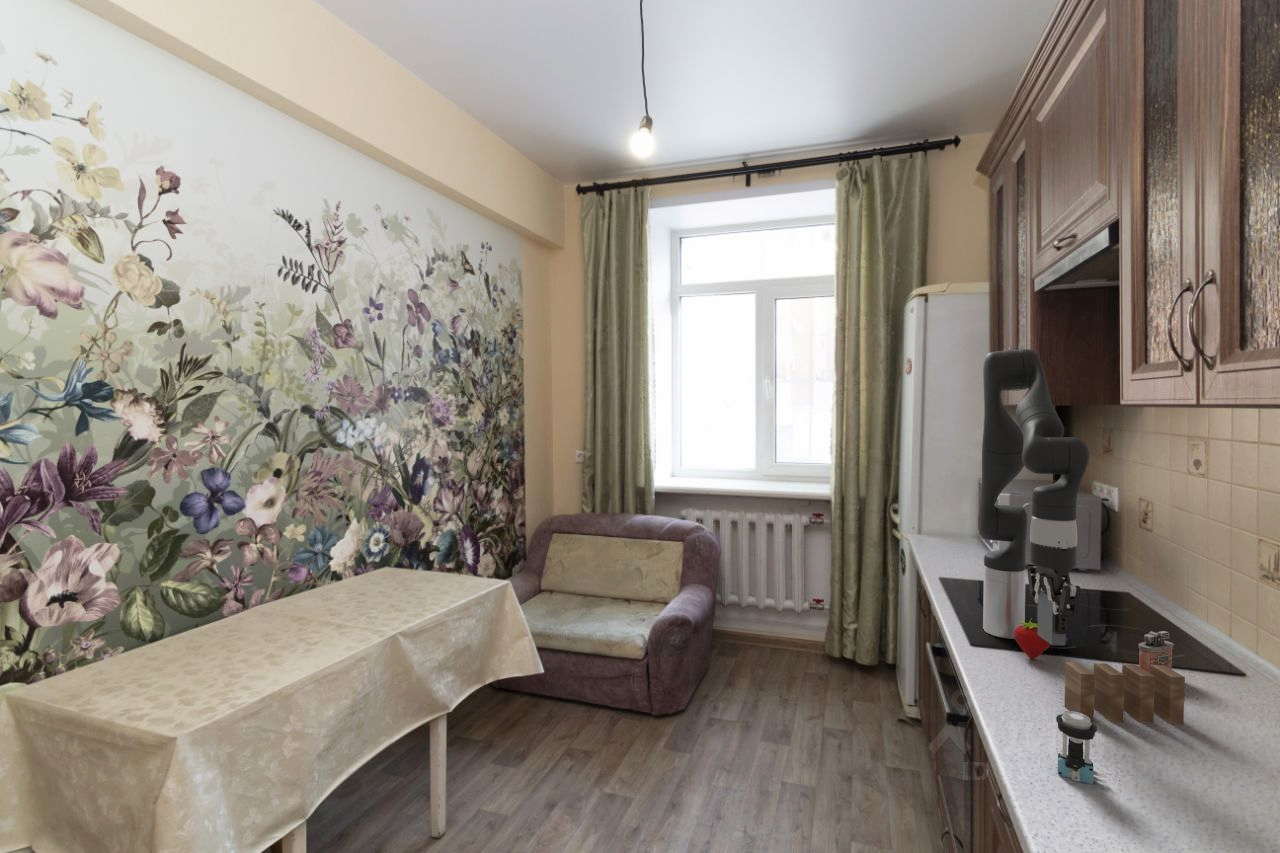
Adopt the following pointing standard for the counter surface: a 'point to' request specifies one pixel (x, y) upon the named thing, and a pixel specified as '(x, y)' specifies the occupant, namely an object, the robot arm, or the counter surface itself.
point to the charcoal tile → (1048, 620)
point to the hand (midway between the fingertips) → (1051, 627)
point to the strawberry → (1030, 639)
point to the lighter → (1155, 651)
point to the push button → (1076, 747)
